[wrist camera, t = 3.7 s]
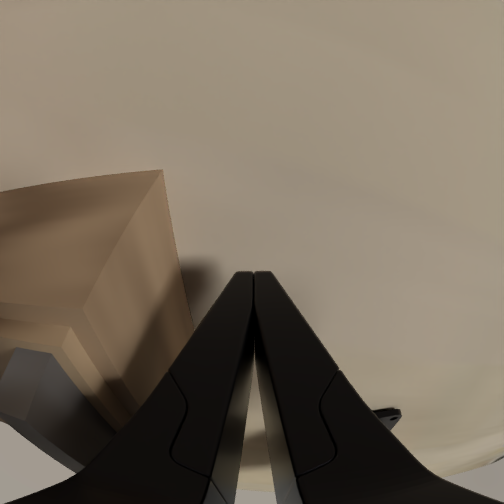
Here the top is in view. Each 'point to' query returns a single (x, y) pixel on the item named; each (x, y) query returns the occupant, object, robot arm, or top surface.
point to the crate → (86, 308)
